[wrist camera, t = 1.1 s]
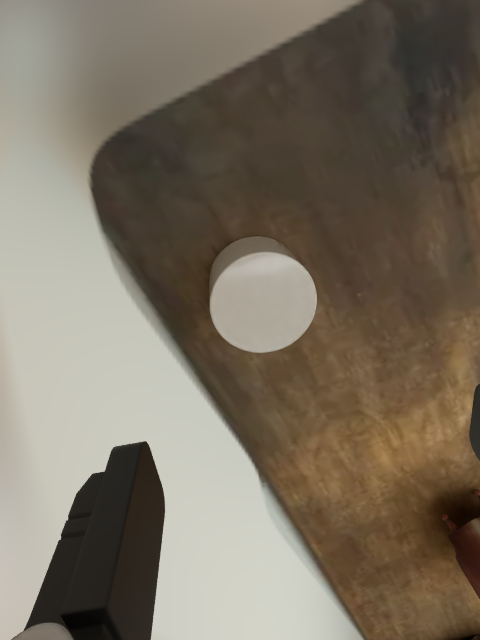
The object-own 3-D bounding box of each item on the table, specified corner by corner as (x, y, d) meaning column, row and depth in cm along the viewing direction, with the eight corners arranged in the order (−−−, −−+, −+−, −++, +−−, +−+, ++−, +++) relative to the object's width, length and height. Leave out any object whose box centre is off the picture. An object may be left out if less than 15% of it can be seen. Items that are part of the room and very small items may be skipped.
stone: (200, 244, 19) (200, 262, 16) (295, 228, 19) (313, 243, 16) (217, 330, 21) (219, 361, 18) (303, 315, 21) (320, 343, 18)
